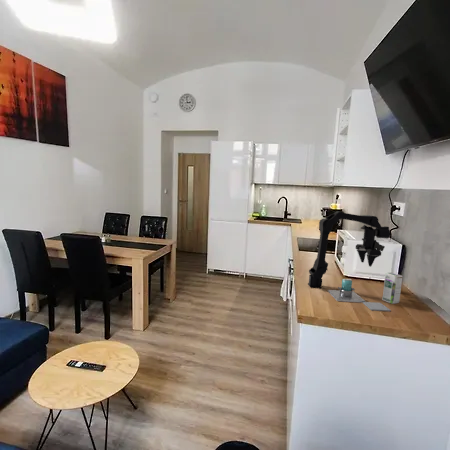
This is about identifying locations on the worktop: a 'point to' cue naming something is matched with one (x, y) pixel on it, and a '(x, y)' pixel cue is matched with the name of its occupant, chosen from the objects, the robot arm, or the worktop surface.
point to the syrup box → (392, 288)
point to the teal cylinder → (346, 284)
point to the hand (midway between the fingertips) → (366, 264)
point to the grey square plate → (346, 295)
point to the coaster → (376, 306)
